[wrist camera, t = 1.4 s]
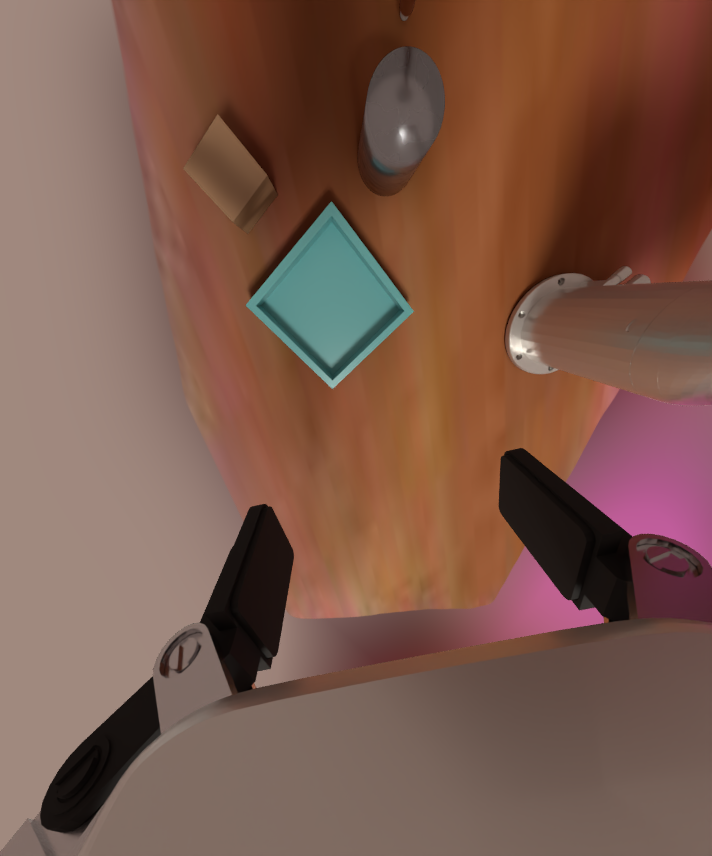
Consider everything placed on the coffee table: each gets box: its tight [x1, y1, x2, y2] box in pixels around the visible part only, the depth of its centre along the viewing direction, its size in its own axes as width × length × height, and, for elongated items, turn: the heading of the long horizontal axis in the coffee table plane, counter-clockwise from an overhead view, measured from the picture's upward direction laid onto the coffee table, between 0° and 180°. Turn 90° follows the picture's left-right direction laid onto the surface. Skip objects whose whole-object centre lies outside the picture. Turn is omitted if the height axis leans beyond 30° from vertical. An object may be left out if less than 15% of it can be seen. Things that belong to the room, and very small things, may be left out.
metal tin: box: [358, 47, 445, 196], centre depth 23 cm, size 6×6×8 cm
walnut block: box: [183, 114, 278, 234], centre depth 25 cm, size 5×5×5 cm
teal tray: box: [246, 201, 414, 389], centre depth 31 cm, size 14×14×3 cm
